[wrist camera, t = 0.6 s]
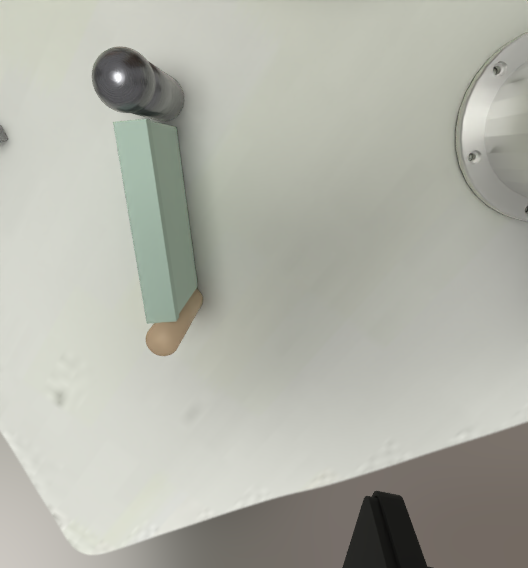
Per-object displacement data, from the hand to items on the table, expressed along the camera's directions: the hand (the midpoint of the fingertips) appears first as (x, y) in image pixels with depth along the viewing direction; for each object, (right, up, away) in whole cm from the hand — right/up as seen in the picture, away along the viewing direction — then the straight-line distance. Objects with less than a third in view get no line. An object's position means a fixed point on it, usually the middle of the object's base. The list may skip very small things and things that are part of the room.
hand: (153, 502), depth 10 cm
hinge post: (-5, +18, +22) cm, 28 cm away
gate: (-4, +9, +24) cm, 26 cm away
